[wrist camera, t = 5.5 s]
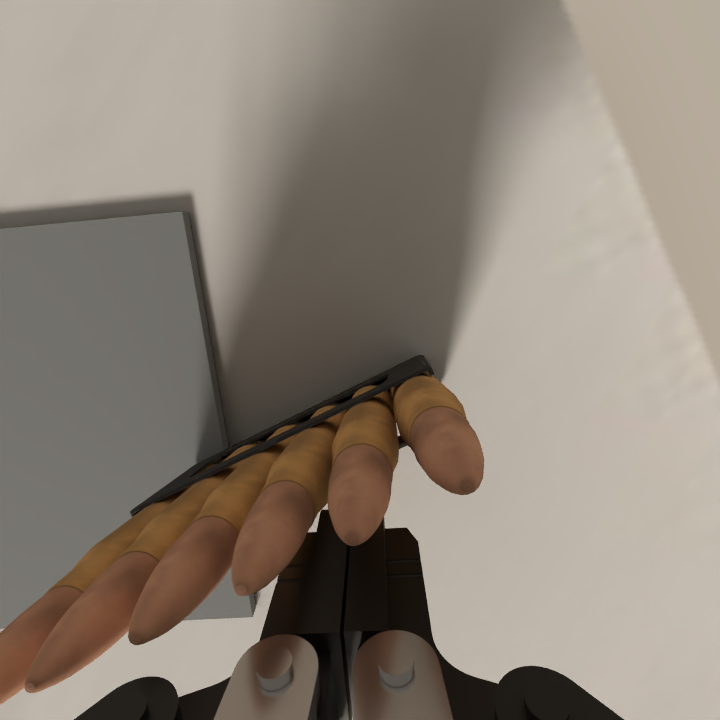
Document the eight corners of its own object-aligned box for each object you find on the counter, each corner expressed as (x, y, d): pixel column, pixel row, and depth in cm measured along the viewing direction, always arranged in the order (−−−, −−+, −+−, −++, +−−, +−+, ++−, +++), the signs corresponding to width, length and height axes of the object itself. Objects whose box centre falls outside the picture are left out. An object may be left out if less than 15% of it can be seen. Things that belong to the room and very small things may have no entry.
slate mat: (188, 212, 17) (182, 211, 16) (256, 606, 21) (252, 616, 20) (-155, 245, 17) (-174, 245, 17) (-23, 620, 22) (-34, 630, 21)
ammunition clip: (421, 353, 18) (503, 393, 6) (442, 394, 18) (564, 518, 6) (192, 465, 19) (-154, 705, 7) (212, 504, 19) (-96, 812, 7)
